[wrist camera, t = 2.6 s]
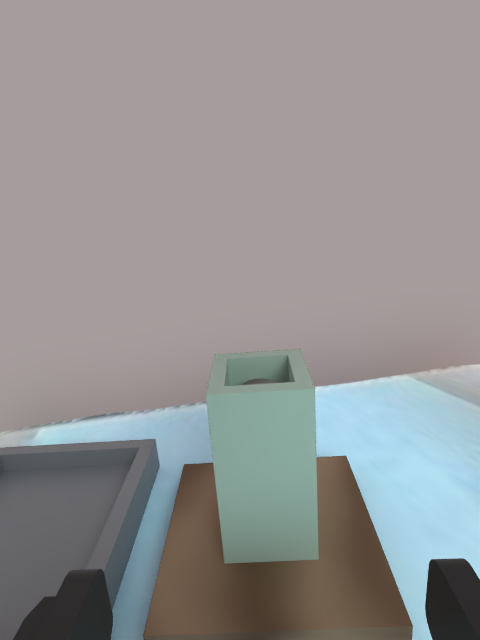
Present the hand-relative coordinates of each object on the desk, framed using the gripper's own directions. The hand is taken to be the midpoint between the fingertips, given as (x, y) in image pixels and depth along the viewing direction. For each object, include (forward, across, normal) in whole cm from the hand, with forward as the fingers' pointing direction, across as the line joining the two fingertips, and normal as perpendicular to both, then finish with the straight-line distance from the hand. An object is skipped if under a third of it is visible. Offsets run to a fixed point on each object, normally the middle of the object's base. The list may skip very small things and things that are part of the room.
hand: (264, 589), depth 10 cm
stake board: (+12, 0, +10) cm, 16 cm away
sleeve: (+12, 0, +9) cm, 15 cm away
